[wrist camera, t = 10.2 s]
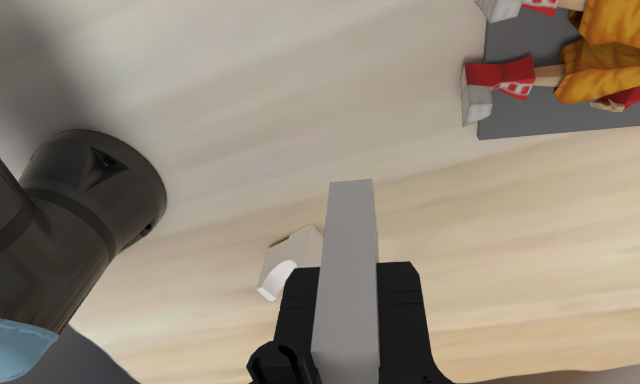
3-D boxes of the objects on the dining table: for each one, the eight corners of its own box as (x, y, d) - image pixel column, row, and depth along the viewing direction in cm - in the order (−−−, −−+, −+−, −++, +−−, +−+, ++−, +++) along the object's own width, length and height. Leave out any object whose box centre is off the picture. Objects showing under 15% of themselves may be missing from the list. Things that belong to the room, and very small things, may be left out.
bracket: (269, 243, 51) (256, 289, 45) (311, 222, 48) (303, 268, 42) (327, 298, 56) (322, 345, 50) (368, 282, 53) (368, 330, 47)
